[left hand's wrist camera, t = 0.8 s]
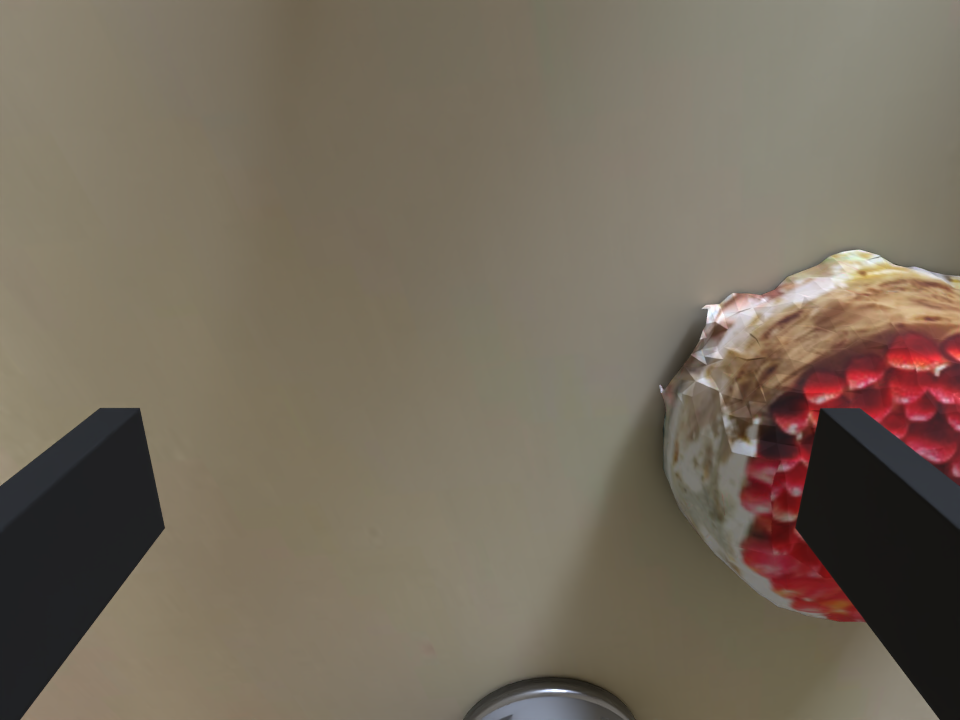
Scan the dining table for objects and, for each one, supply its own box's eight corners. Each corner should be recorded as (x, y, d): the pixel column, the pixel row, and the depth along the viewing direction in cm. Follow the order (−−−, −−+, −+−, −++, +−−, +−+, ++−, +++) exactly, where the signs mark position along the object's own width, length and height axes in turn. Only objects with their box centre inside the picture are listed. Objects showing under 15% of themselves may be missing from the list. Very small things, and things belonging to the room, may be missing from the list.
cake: (1113, 303, 39) (1308, 367, 30) (877, 597, 48) (973, 718, 38) (785, 156, 36) (890, 176, 27) (595, 499, 45) (625, 605, 35)
